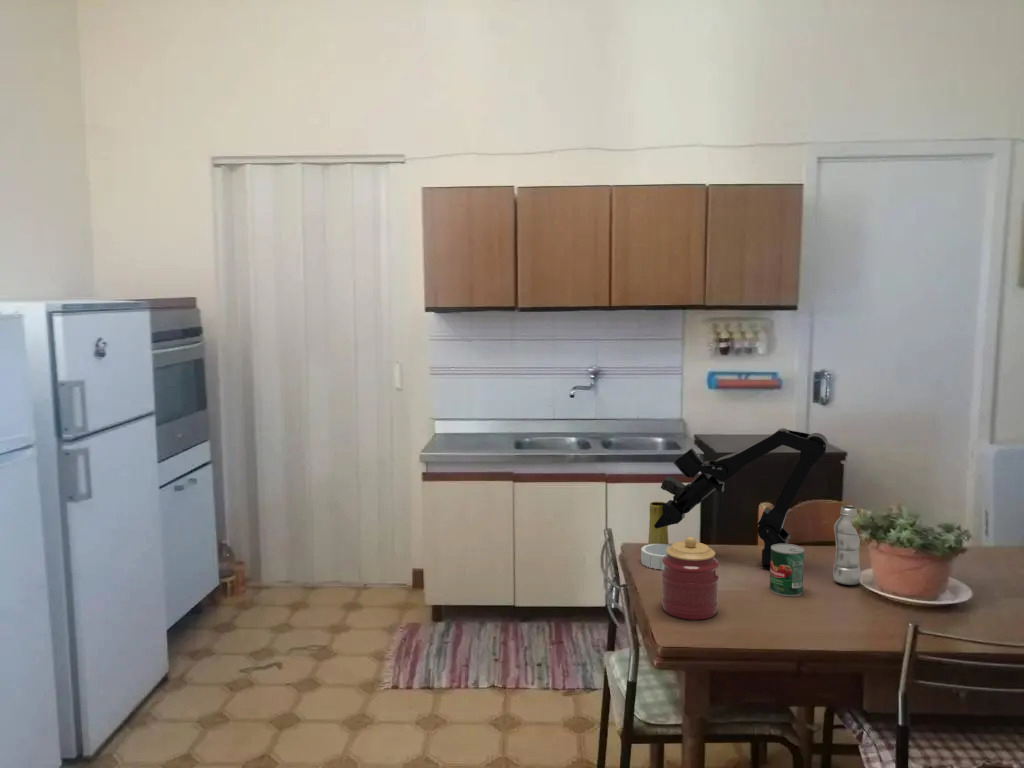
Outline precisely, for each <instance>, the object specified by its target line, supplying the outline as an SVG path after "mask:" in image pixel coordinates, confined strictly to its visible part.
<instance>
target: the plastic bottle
mask: <svg viewBox="0 0 1024 768" xmlns="http://www.w3.org/2000/svg"><path fill="white" fill-rule="evenodd" d="M857 512H858V507H856V506H853V505H842V506H840V512H839V514H840V516H839V518H838V519H837V520H836V522H835V523H834V526H833V530H834V538H835V556H834V557H835V559H834V564H833V569H832V575H833V576H832V577H833V579H834V581H835V582H836V583H838V584H841V585H846V586H847V585H848V586H855V585H857V584H859V583H860V581H861V578H862V572H861V566H860V545H861V539H860V538H859V536H858V533H857V531H856V529H855V528H854V527H853V526H852V523H851V520H852V518H853V517H854V516H856V515H858V513H857ZM856 517H857V516H856Z"/></svg>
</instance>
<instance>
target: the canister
mask: <svg viewBox="0 0 1024 768" xmlns="http://www.w3.org/2000/svg"><path fill="white" fill-rule="evenodd" d="M671 545H672V546H669V547H668V548H667V549H666V553H667V555H666V556H664V557H663V559H662V562H663V564H664V570H662V572H661V576H662V596H661V604H662V609H663V610H664V612H665V613H667V614H668V615H671V616H673V617H676V618H679V619H684V620H692V621H693V620H696V621H697V620H705V619H706V620H707V619H710V618H712V617H714V616H715V615H716V614H717V612H718V608H719V600H718V591H719V590H718V589H719V588H718V587H719V586H718V583H719V582H718V581H719V578H720V577H719V575H718V573H717V568H718V567H719V565H720V563H719V562H720V561H718V560H717V559H716V558H715V555H716V551H715V550H714V549H712V548H711V547H709V545H707V544H705V543H701V542H700V541H699V542H698V541H697V540H696V538H695V537H693V536H687V537H686V538H685V539H684V541H677V542H674V543H673V544H671Z"/></svg>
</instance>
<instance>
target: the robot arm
mask: <svg viewBox="0 0 1024 768" xmlns="http://www.w3.org/2000/svg"><path fill="white" fill-rule="evenodd" d="M781 446H785V447H789V448H791V449H792V450H793V449H794V450H796V451H798V452H799V451H800V453H799V456H798V460H797V463H796V465H795V467H794V469H793V471H792V472H791V475H790V476H789V478H788V480H787V481H786V484H785V486H784V488H783V489H782V491H781V493H780V494H779V497H778V498H777V500H776V502H775V504H774V505H773V506H772V508H769V507H768V506H766V507H765V508H764V510H763V512H762V513H761V516H760V518H759V519H758V520H757V522H756V525H757V526H758V527H757V528H756V529H757V535H758V537H759V538H760V539H761V540H762V541H763V544H764V545H763V548H762V550H761V564H762V569H765V570H770V565H771V564H770V563H771V546H772V545H774V544H788V542H789V540H790V538H791V535H790V533H789V532H788V531H787V530H786V529H785V528H784V524H785V522H786V521H785V520H786V517H787V514H788V510H789V509H790V508H791V506H792V504H793V502H794V500H795V499H796V496H797V494H798V493H799V492H800V490H801V487H802V486H803V484H804V481H805V480H806V478H807V476H808V474H809V473H810V471H811V470H812V468H813V467H815V465H816V464H817V463H818V462H819V461H820V459H821V458H822V457H823V456H824V455H825V453H826V451H827V449H828V446H829V442H828V439H827V437H826V436H825V435H823V434H822V433H820V432H813V433H806V432H803V431H796V430H791V429H787V428H784V427H783V428H780V429H777V430H776V431H775V432H774V433H772V434H770V435H768V436H766V437H764V438H763V439H761V440H758V441H757V442H755V443H754V444H751V445H750V446H748V447H746V448H744V449H742V450H741V451H737V452H734V453H730V454H727V455H724V456H721V457H719V458H718V459H716V460H706V461H704V460H703V459H702V458H701V457H700V456H699V455H698V454H697V452H696V451H695V449H694V448H690V449H689V450H687V451H686V452H685V453H683V454H682V455H680V457H678V458H677V459H676V460H675V461H674V462H673V464H674V466H675V467H676V468H677V469H678V470H679V471H680V472H681V474H682V475H684V476H685V478H689V479H690V478H691V479H693V478H694V477H695V476H697V475H698V474H699V473H700V474H699V475H698V476H697V477H696V478H694V480H692V481H691V482H690V483H689V482H688V483H687V484H684V483H682V482H681V481H679V480H678V479H677V478H674V477H672V476H670V475H667V476H666V477H665V478H664V480H663V481H662V483H661V486H660V489H661V490H663V491H665V492H668V493H669V494H671V495H673V496H672V498H673V500H671V499H669V500H668V501H667V502H665V503H666V504H665V505H663V506H662V510H663V514H662V515H661V517H660V518H659V519H658V521H657V522H656V524H655V525H654V527H655V528H656V529H657V528H661V527H665V526H668V527H669V526H673V525H677V524H679V523H680V522H681V521H683V519H685V517H686V516H685V515H686V514H688V513H689V512H690V511H692V510H693V509H694V508H695V507H696V506H697V505H699V504H700V503H702V501H703V500H704V499H706V498H707V497H708V496H709V495H710V494H712V492H714V491H715V490H716V491H717V492H718V493H719V494H722V493H723V492H724V491H725V481H727V480H728V479H730V478H731V477H732V476H735V474H736V473H737V472H738V471H740V470H741V469H742V468H743V467H745V466H746V465H747V464H750V463H751V462H753V461H754V460H757V459H759V458H760V457H763V456H764V455H766V454H768V453H770V452H772V451H774V450H775V449H777V448H779V447H781Z"/></svg>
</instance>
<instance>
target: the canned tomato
mask: <svg viewBox="0 0 1024 768" xmlns="http://www.w3.org/2000/svg"><path fill="white" fill-rule="evenodd" d="M804 558H805V549H804V547H802V546H801V545H800V546H799V545H797V544H792V543H787V544H774V545H772V546H771V563H770V564H771V565H770V569H769V570H770V572H769V590H770V592H772V593H773V594H776V595H778V596H783V597H798V596H801V595H803V593H804V592H803V589H804V588H803V587H804V561H805V560H804Z"/></svg>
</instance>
